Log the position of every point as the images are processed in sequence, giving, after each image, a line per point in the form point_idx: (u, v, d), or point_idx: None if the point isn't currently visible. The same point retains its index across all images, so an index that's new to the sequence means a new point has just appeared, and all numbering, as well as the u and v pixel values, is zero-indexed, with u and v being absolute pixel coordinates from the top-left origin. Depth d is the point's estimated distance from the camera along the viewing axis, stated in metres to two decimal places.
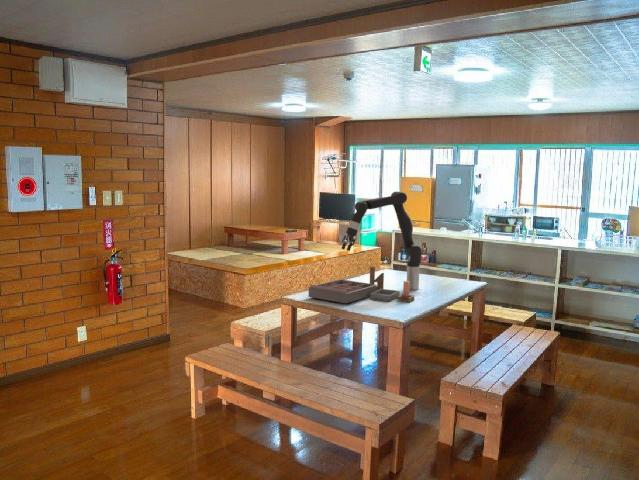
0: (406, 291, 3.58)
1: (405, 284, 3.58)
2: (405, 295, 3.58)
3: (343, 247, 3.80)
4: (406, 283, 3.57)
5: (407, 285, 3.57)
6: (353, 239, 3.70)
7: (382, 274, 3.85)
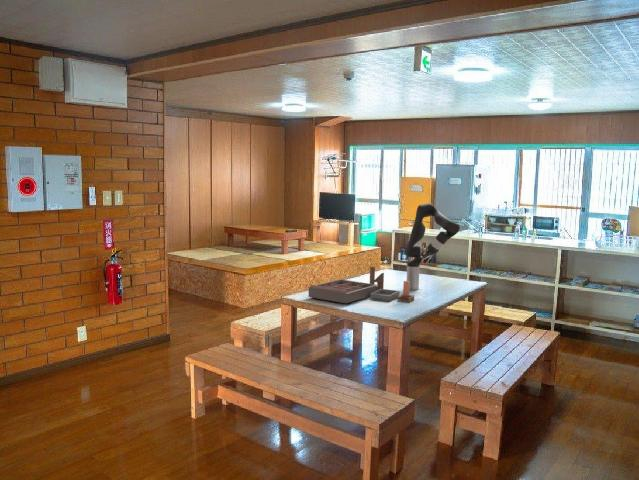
0: (406, 291, 3.58)
1: (405, 284, 3.58)
2: (405, 295, 3.58)
3: None
4: (406, 283, 3.57)
5: (407, 285, 3.57)
6: None
7: (382, 274, 3.85)
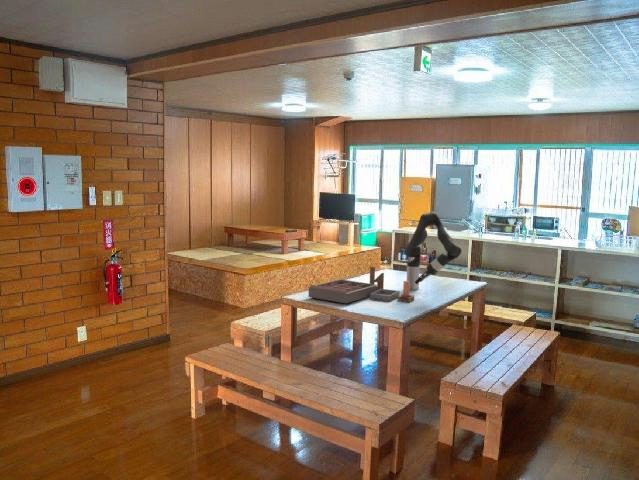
0: (406, 291, 3.58)
1: (405, 284, 3.58)
2: (405, 295, 3.58)
3: None
4: (406, 283, 3.57)
5: (407, 285, 3.57)
6: None
7: (382, 274, 3.85)
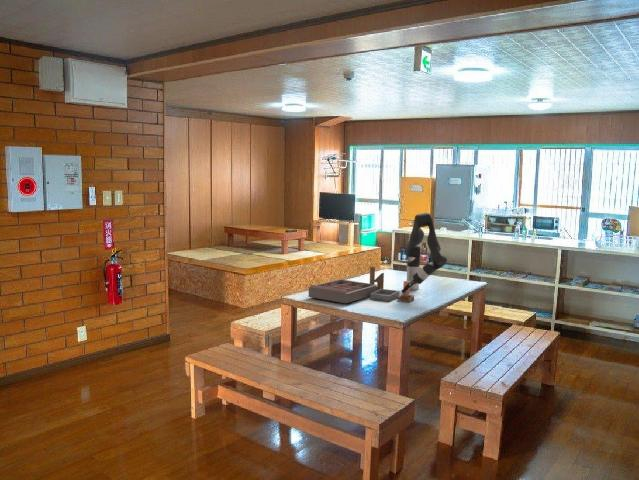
0: (406, 291, 3.58)
1: (405, 284, 3.58)
2: (405, 295, 3.58)
3: None
4: (406, 283, 3.57)
5: None
6: None
7: (382, 274, 3.85)
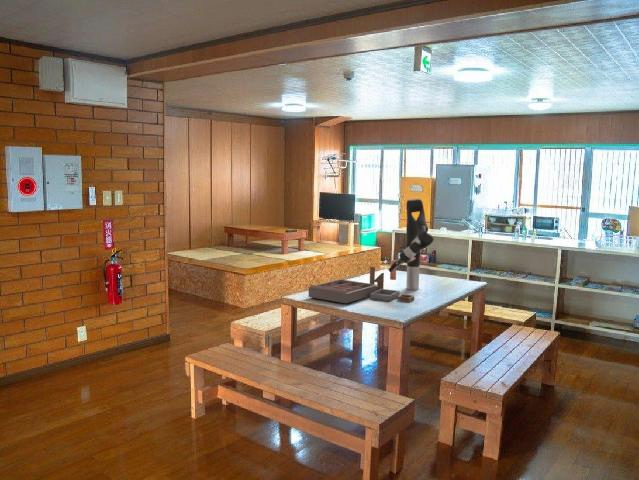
0: (393, 270, 3.61)
1: (392, 263, 3.61)
2: (392, 274, 3.61)
3: None
4: (393, 262, 3.60)
5: None
6: None
7: (382, 274, 3.85)
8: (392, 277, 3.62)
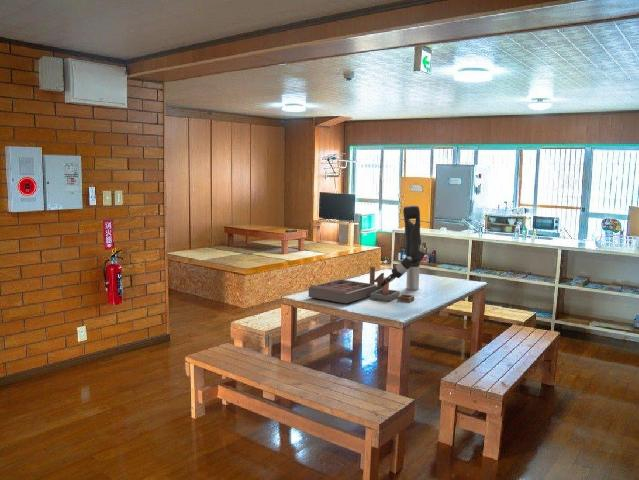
0: (385, 287, 3.64)
1: None
2: (384, 291, 3.65)
3: None
4: None
5: None
6: None
7: (382, 274, 3.85)
8: (384, 294, 3.65)
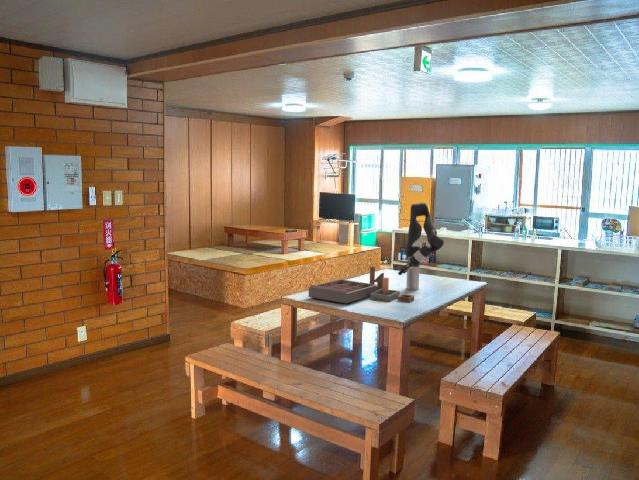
0: (385, 287, 3.65)
1: (384, 280, 3.64)
2: (384, 291, 3.65)
3: None
4: (385, 279, 3.64)
5: (386, 281, 3.64)
6: None
7: (382, 274, 3.85)
8: (384, 294, 3.65)
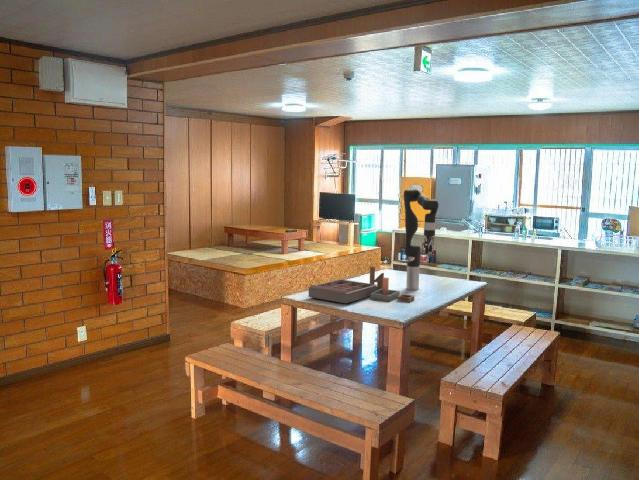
0: (385, 287, 3.65)
1: (384, 280, 3.64)
2: (384, 291, 3.65)
3: None
4: (385, 279, 3.64)
5: (386, 281, 3.64)
6: None
7: (382, 274, 3.85)
8: (384, 294, 3.65)
